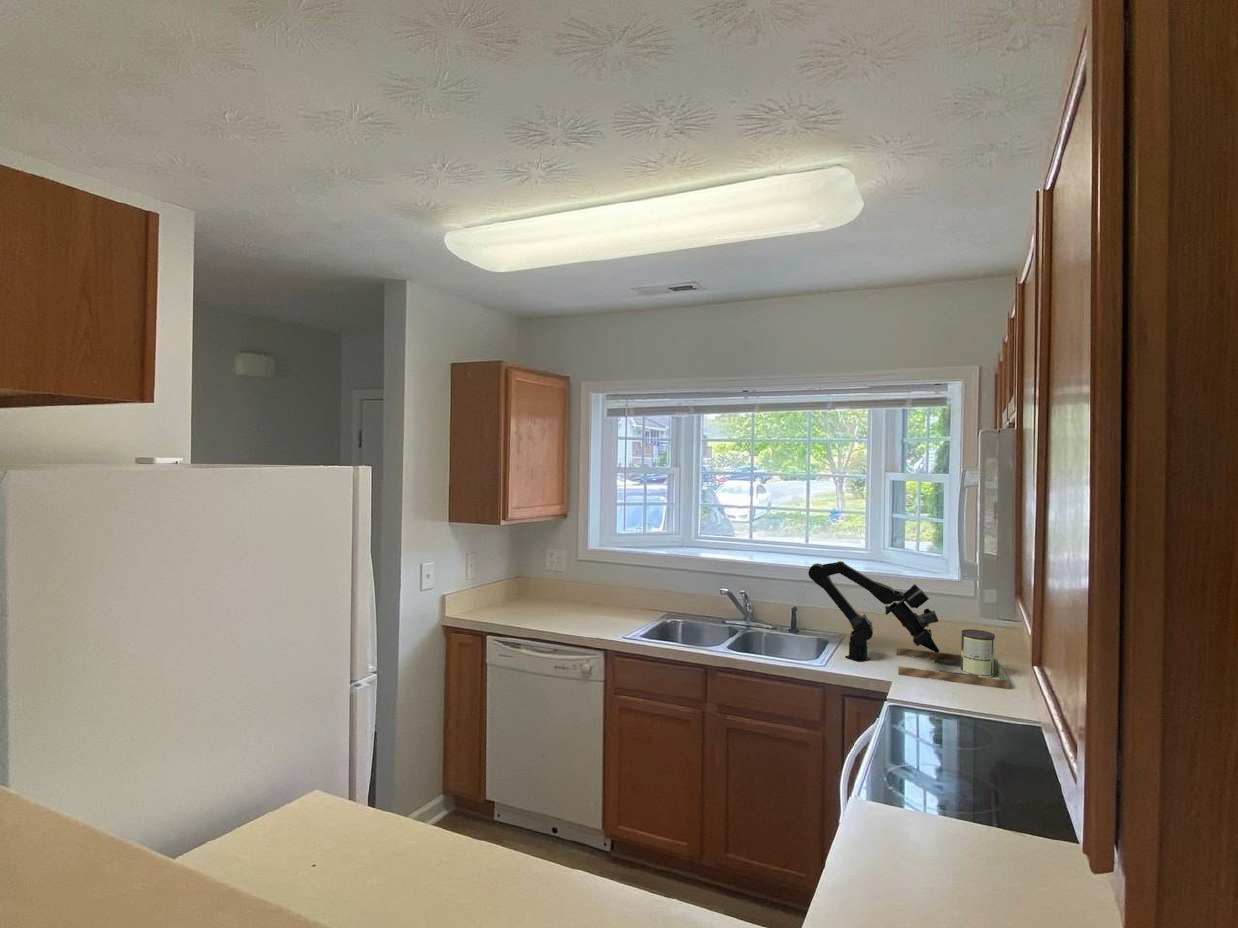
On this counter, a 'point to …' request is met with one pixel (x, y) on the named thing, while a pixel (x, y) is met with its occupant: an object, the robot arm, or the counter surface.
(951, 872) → the counter surface
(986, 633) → the coffee can
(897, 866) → the counter surface
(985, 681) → the brown wooden frame
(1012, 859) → the counter surface
